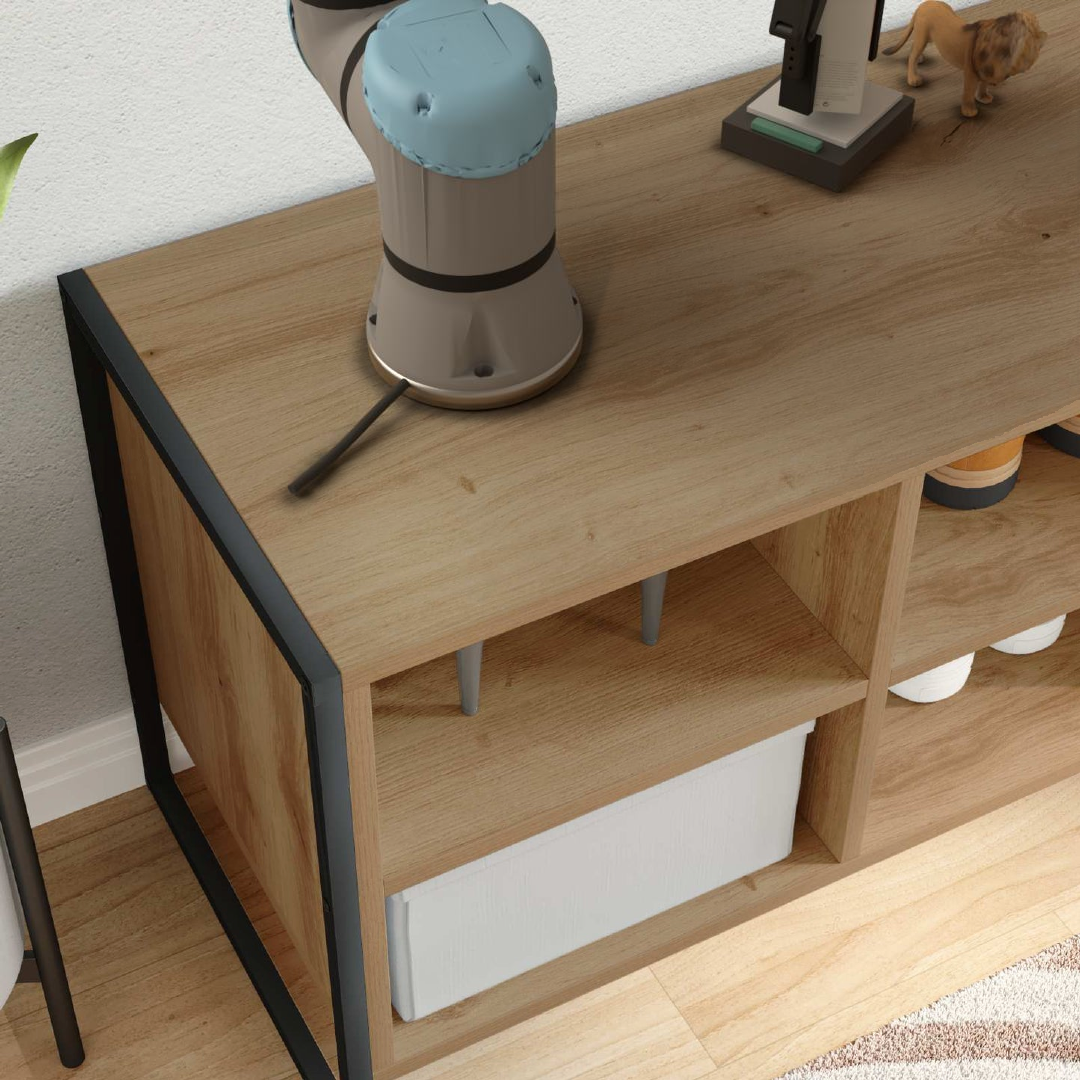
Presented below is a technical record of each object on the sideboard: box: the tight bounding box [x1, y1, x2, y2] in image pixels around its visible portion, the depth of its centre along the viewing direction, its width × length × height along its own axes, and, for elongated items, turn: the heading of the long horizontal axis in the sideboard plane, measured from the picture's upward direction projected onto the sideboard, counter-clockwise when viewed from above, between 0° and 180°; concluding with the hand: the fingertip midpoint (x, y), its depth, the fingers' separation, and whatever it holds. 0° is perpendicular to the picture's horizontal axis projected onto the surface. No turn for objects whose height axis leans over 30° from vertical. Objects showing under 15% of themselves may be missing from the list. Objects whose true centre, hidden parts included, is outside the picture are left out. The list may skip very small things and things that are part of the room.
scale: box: [719, 73, 917, 193], centre depth 128 cm, size 12×11×3 cm
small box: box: [813, 0, 876, 114], centre depth 123 cm, size 8×6×10 cm
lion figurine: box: [881, 0, 1049, 118], centre depth 131 cm, size 15×5×9 cm, turn 44°
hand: (828, 81), depth 126 cm, fingers closed on small box, 9 cm apart
